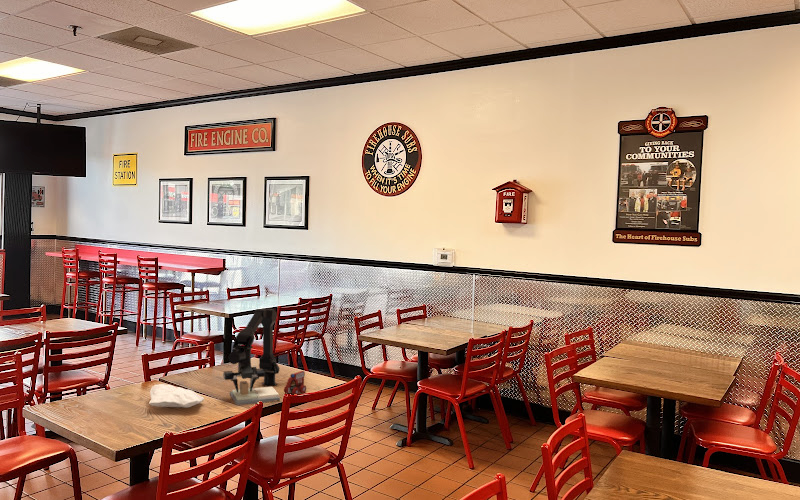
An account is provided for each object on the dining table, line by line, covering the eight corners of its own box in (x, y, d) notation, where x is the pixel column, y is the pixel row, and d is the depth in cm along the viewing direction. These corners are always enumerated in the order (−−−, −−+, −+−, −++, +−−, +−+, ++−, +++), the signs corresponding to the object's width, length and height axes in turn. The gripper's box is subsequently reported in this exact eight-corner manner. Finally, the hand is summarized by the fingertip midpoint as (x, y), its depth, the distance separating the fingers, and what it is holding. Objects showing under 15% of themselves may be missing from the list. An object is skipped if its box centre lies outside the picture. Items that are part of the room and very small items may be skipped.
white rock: (167, 418, 260) (170, 396, 260) (127, 400, 282) (130, 380, 283) (215, 414, 277) (218, 394, 278) (174, 397, 300) (177, 378, 301)
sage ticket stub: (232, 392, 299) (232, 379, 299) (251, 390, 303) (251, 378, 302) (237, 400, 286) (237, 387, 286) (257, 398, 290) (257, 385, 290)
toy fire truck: (280, 395, 303) (281, 374, 302) (298, 389, 313) (298, 369, 312) (291, 397, 299) (292, 376, 298) (308, 391, 309) (309, 371, 309)
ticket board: (229, 394, 301) (230, 388, 300) (270, 390, 309) (271, 385, 309) (236, 405, 284) (236, 399, 284) (279, 400, 293) (279, 394, 293)
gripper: (227, 364, 282) (226, 398, 283) (268, 361, 290) (267, 394, 291) (223, 359, 292) (222, 392, 293) (262, 356, 300) (262, 388, 301)
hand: (244, 391), depth 294 cm, fingers open, 6 cm apart
